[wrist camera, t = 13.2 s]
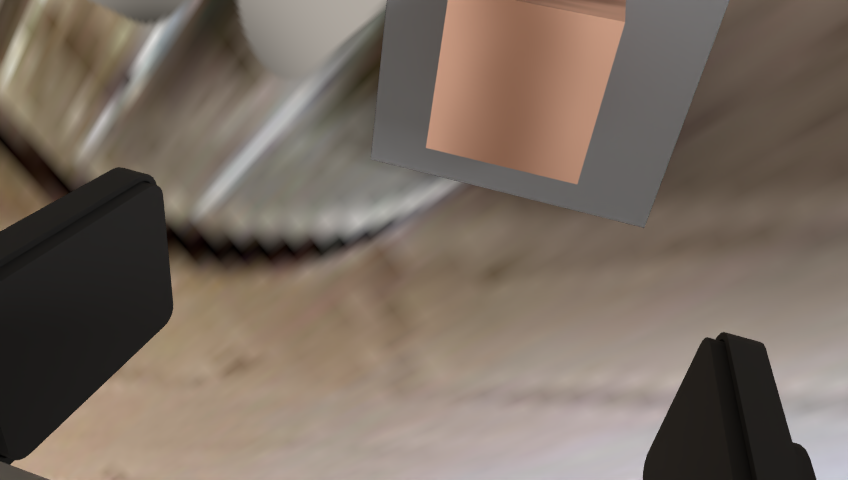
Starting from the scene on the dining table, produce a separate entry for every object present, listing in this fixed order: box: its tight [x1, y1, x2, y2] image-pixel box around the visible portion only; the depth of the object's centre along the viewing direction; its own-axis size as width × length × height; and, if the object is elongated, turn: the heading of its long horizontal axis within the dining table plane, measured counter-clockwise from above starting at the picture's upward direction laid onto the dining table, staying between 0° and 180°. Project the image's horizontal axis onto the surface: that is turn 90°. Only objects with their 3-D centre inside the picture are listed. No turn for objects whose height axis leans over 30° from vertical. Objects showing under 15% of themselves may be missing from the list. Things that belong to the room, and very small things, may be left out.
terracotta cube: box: [426, 0, 626, 184], centre depth 25 cm, size 6×6×6 cm
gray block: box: [371, 0, 729, 228], centre depth 29 cm, size 14×14×4 cm
